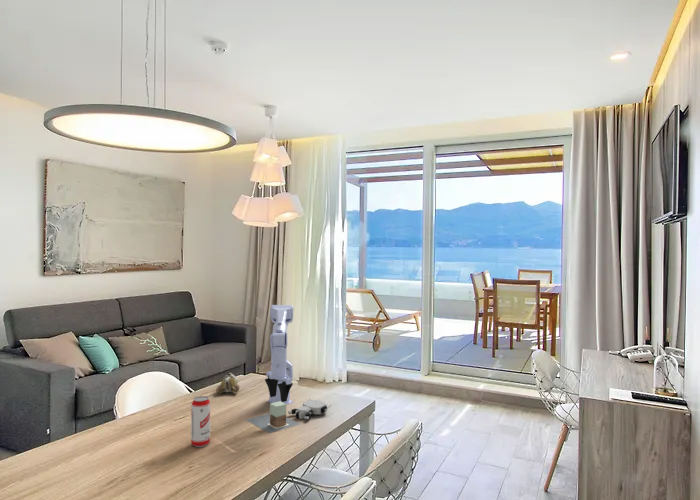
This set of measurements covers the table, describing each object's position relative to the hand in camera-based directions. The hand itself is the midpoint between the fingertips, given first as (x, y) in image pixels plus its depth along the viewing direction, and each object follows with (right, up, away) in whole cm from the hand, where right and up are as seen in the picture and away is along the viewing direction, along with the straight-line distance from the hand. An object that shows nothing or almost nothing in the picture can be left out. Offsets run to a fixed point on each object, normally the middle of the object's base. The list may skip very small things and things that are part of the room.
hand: (278, 398), depth 181 cm
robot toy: (+11, -11, +12) cm, 19 cm away
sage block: (0, -6, 0) cm, 6 cm away
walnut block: (0, -10, 0) cm, 10 cm away
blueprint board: (-3, -10, +3) cm, 11 cm away
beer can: (-24, -10, -18) cm, 32 cm away
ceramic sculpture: (-30, -10, +43) cm, 54 cm away
